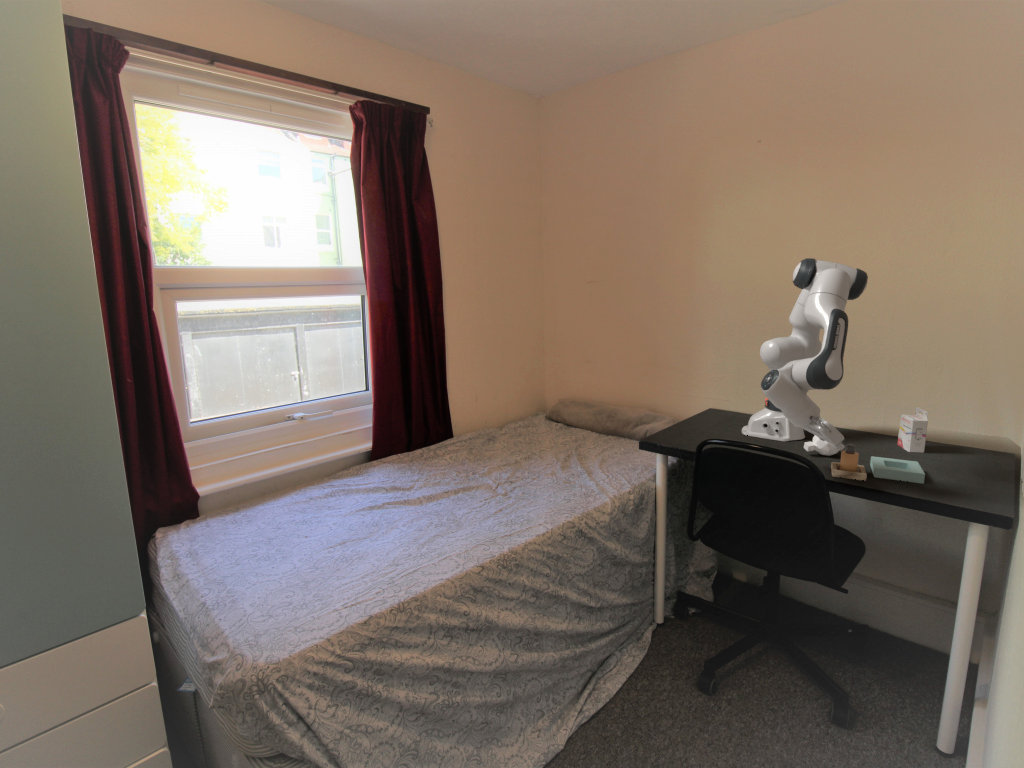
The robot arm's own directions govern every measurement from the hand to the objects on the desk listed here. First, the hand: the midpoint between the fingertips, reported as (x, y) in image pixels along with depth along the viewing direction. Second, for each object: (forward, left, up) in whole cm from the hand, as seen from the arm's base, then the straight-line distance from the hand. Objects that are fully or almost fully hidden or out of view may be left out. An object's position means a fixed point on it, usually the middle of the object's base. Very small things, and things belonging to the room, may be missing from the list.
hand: (833, 443), depth 162 cm
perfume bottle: (-2, +21, -10) cm, 23 cm away
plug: (+5, +3, -10) cm, 11 cm away
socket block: (+18, +9, -10) cm, 22 cm away
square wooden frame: (+5, +3, -10) cm, 11 cm away
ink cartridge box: (+26, +41, -10) cm, 49 cm away
